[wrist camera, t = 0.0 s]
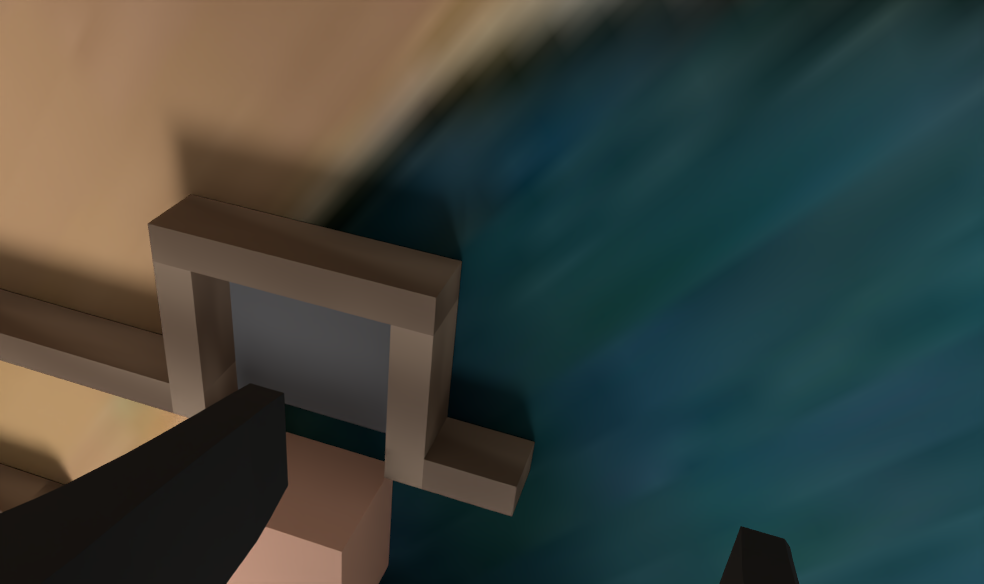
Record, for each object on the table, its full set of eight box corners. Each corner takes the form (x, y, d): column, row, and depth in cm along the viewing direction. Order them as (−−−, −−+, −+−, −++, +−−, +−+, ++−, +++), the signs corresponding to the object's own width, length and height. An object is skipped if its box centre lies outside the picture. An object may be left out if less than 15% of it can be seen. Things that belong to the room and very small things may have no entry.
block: (389, 562, 31) (341, 655, 28) (266, 521, 32) (204, 606, 29) (394, 462, 28) (341, 552, 25) (259, 421, 29) (191, 502, 26)
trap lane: (484, 736, 34) (463, 800, 32) (-128, 515, 40) (-180, 555, 38) (561, 285, 23) (536, 338, 21) (-316, 69, 29) (-405, 92, 27)
